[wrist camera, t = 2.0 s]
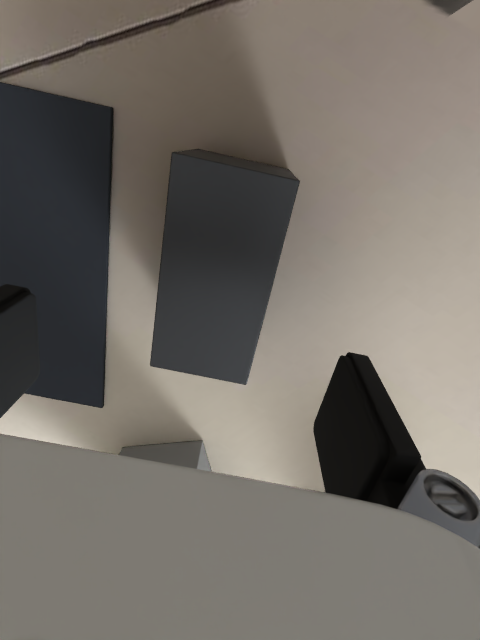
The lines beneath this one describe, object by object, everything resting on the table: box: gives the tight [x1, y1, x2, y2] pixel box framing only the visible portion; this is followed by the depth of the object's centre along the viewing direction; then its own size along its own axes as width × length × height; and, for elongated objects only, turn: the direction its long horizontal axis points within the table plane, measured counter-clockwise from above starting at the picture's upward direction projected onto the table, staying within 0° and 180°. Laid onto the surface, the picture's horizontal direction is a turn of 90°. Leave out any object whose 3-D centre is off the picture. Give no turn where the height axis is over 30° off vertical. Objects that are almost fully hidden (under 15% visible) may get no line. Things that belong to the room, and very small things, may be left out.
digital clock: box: [150, 149, 300, 385], centre depth 18 cm, size 10×5×6 cm, turn 169°
